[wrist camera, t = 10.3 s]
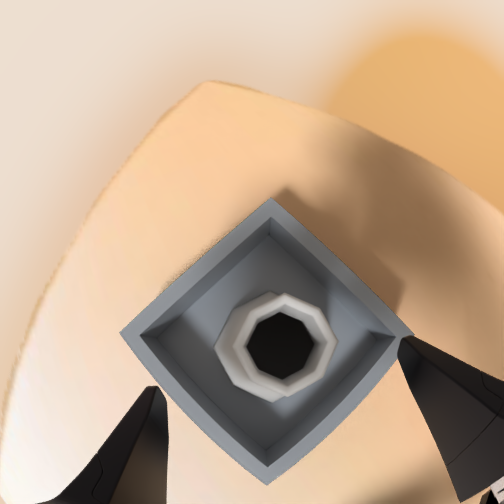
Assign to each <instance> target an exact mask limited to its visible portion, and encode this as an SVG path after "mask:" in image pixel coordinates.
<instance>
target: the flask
mask: <svg viewBox="0 0 504 504" xmlns="http://www.w3.org/2000/svg"><path fill="white" fill-rule="evenodd" d="M338 342H339V341H338V339H337V337H336V336H335V334H334V332H333V330H332V328H331V327H330V325H329V323H328V321H327V320H326V318H325V316H324V314H323V313H322V311H321V309H320V308H318V307H316V306H314V305H312V304H309V303H307V302H305V301H302V300H300V299H298V298H296V297H293V296H291V295H289V294H287V293H283V294H281V295H279V294H277V293H275V292H273V291H270V290H269V291H267V292H265V293H263V294H261V295H259V296H257V297H255V298H253V299H251V300H249V301H247V302H246V303H244V304H242V305H240V306H238V307H236V308H234V309H232V310H231V312H230V314H229V316H228V318H227V320H226V322H225V324H224V326H223V328H222V330H221V332H220V334H219V336H218V338H217V340H216V342H215V344H214V346H213V349H214V351H215V353H216V355H217V357H218V359H219V361H220V363H221V365H222V367H223V369H224V370H225V372H226V374H227V376H228V378H229V380H230V382H231V383H232V385H233V386H235V387H237V388H240V389H242V390H244V391H246V392H248V393H251V394H253V395H255V396H257V397H260V398H262V399H264V400H267V401H269V402H272V403H273V402H275V401H277V400H279V399H281V398H283V397H285V396H286V397H289V396H291V395H293V394H295V393H296V392H298V391H300V390H302V389H304V388H305V387H307V386H309V385H311V384H312V383H314V382H316V381H318V380H319V379H321V378H323V376H324V374H325V372H326V370H327V367H328V365H329V363H330V361H331V358H332V356H333V354H334V351H335V349H336V347H337V344H338Z"/></svg>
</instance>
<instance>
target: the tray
mask: <svg viewBox="0 0 504 504" xmlns="http://www.w3.org/2000/svg"><path fill="white" fill-rule="evenodd" d="M269 290H270V291H273V292H275V293H277V294H279V295H281V294H283V293H287V294H289V295H291V296H293V297H296V298H298V299H300V300H302V301H305V302H307V303H309V304H312V305H314V306H316V307H318V308H320V309H321V311H322V313H323V314H324V316H325V318H326V320H327V321H328V323H329V325H330V327H331V328H332V330H333V332H334V334H335V336H336V337H337V339H338V341H339V342H338V344H337V347H336V349H335V351H334V354H333V356H332V358H331V361H330V363H329V365H328V367H327V370H326V372H325V374H324V376H323V378H321V379H319V380H318V381H316V382H314V383H312V384H311V385H309V386H307V387H305V388H304V389H302V390H300V391H298V392H296V393H295V394H293V395H291V396H289V397H286V396H285V397H283V398H281V399H279V400H277V401H275V402H273V403H272V402H269V401H267V400H264V399H262V398H260V397H257V396H255V395H253V394H251V393H248V392H246V391H244V390H242V389H240V388H237V387H235V386H233V385H232V383H231V382H230V380H229V378H228V376H227V374H226V372H225V370H224V369H223V367H222V365H221V363H220V361H219V359H218V357H217V355H216V353H215V351H214V349H213V346H214V344H215V342H216V340H217V338H218V336H219V334H220V332H221V330H222V328H223V326H224V324H225V322H226V320H227V318H228V316H229V314H230V312H231V310H232V309H234V308H236V307H238V306H240V305H242V304H244V303H246V302H247V301H249V300H251V299H253V298H255V297H257V296H259V295H261V294H263V293H265V292H267V291H269ZM119 333H120V335H121V336H122V337H123V339H124V340H125V342H126V343H127V344H128V346H129V347H130V348H131V350H132V351H133V352H134V354H135V355H136V356H137V358H138V359H139V360H140V361H141V363H142V364H143V365H144V367H145V368H146V369H147V370H148V372H149V373H150V374H151V375H152V376H153V378H154V379H155V380H156V381H157V382H158V384H159V385H160V386H161V387H162V388H163V389H164V391H165V392H166V393H167V394H168V395H169V396H170V397H171V398H172V400H173V401H174V402H175V403H176V404H177V405H178V406H179V407H180V408H181V409H182V410H183V411H184V413H185V414H186V415H187V416H188V417H189V418H190V419H191V420H192V421H193V422H194V423H195V424H196V425H197V426H198V427H199V428H200V429H201V430H202V431H203V432H204V433H205V434H206V435H207V436H208V437H209V438H211V439H212V440H213V441H214V442H215V443H216V444H217V445H218V446H219V447H220V448H221V449H223V450H224V451H225V452H226V453H227V454H228V455H229V456H230V457H232V458H233V459H234V460H235V461H236V462H238V463H239V464H240V465H241V466H242V467H244V468H245V469H246V470H247V471H248V472H250V473H251V474H252V475H254V476H255V477H256V478H257V479H259V480H260V481H261V482H263V483H264V484H265V485H268V484H269V483H271V482H272V481H274V480H275V479H276V478H278V477H279V476H280V475H282V474H283V473H284V472H286V471H287V470H288V469H290V468H291V467H292V466H293V465H295V464H296V463H297V462H298V461H299V460H301V459H302V458H303V457H304V456H305V455H307V454H308V453H309V452H310V451H311V450H312V449H314V448H315V447H316V446H317V445H318V444H319V443H320V442H321V441H323V440H324V439H325V438H326V437H327V436H328V435H329V434H330V433H331V432H332V431H333V430H334V429H335V428H336V427H337V426H338V425H339V424H340V423H341V422H342V421H343V420H344V419H345V418H346V417H347V416H348V415H349V414H350V413H351V412H352V411H353V410H354V409H355V408H356V407H357V406H358V405H359V404H360V403H361V402H362V400H363V399H364V398H365V397H366V396H367V395H368V394H369V393H370V391H371V390H372V389H373V388H374V387H375V386H376V384H377V383H378V382H379V381H380V380H381V379H382V377H383V376H384V375H385V374H386V372H387V371H388V370H389V369H390V367H391V366H392V365H393V364H394V362H395V361H396V360H397V358H398V357H397V351H398V348H399V344H400V340H401V339H402V338H403V337H405V336H408V335H412V336H414V335H415V334H414V333H413V332H412V331H411V330H410V329H409V328H408V327H407V326H406V325H405V324H404V323H403V322H402V321H401V320H400V319H399V318H398V316H397V315H396V314H395V313H394V312H393V311H392V310H391V309H390V308H389V307H388V306H387V305H386V304H385V303H384V302H383V301H382V300H381V299H380V298H379V297H378V296H377V295H376V294H375V293H374V292H373V291H372V290H371V289H370V288H369V287H368V286H367V285H366V284H365V283H364V282H363V281H362V280H361V279H360V278H359V277H358V276H357V275H356V274H355V273H354V272H352V271H351V270H350V269H349V268H348V267H347V266H346V265H345V264H344V263H343V262H342V261H341V260H340V259H339V258H338V257H337V256H336V255H335V254H334V253H332V252H331V251H330V250H329V249H328V248H327V247H326V246H325V245H324V244H323V243H322V242H321V241H320V240H318V239H317V238H316V237H315V236H314V235H313V234H312V233H311V232H310V231H309V230H307V229H306V228H305V227H304V226H303V225H302V224H301V223H300V222H299V221H297V220H296V219H295V218H294V217H293V216H292V215H291V214H290V213H288V212H287V211H286V210H285V209H284V208H283V207H282V206H280V205H279V204H278V203H277V202H276V201H275V200H273V199H272V198H270V199H268V200H267V201H266V202H265V203H264V204H262V205H261V206H260V207H259V208H258V209H257V210H255V211H254V212H253V213H252V214H251V215H250V216H248V217H247V218H246V219H245V220H244V221H243V222H241V223H240V224H239V225H238V226H237V227H236V228H234V229H233V230H232V231H231V232H230V233H229V234H227V235H226V236H225V237H224V238H223V239H222V240H221V241H219V242H218V243H217V244H216V245H215V246H214V247H213V248H211V249H210V250H209V251H208V252H207V253H206V254H205V255H204V256H202V257H201V258H200V259H199V260H198V261H197V262H196V263H195V264H193V265H192V266H191V267H190V268H189V269H188V270H187V271H186V272H184V273H183V274H182V275H181V276H180V277H179V278H178V279H177V280H176V281H175V282H173V283H172V284H171V285H170V286H169V287H168V288H167V289H166V290H165V291H164V292H162V293H161V294H160V295H159V296H158V297H157V298H156V299H155V300H154V301H153V302H152V303H150V304H149V305H148V306H147V307H146V308H145V309H144V310H143V311H142V312H141V313H140V314H139V315H138V316H136V317H135V318H134V319H133V320H132V321H131V322H130V323H129V324H128V325H127V326H126V327H125V328H124V329H123V330H122V331H121V332H119Z"/></svg>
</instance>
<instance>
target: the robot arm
mask: <svg viewBox="0 0 504 504" xmlns="http://www.w3.org/2000/svg"><path fill="white" fill-rule="evenodd" d="M397 357H398V360H399V363H400V365H401V368H402V370H403V373H404V375H405V378H406V381H407V383H408V386H409V388H410V390H411V392H412V394H413V396H414V398H415V400H416V402H417V404H418V406H419V408H420V410H421V412H422V414H423V417H424V419H425V421H426V423H427V425H428V427H429V429H430V431H431V433H432V436H433V438H434V440H435V442H436V444H437V447H438V449H439V451H440V454H441V456H442V458H443V461H444V463H445V465H446V468H447V471H448V473H449V475H450V478H451V481H452V483H453V486H454V488H455V491H456V494H457V496H458V499H459V501H460V503H461V502H463V501H465V500H467V499H469V498H470V497H472V496H474V495H476V494H477V493H479V492H481V491H482V490H484V489H485V488H487V487H489V486H490V488H491V489H490V490H489V491H487V492H486V493H485V494H484V495H482V498H481V501H480V504H504V381H502V380H499V379H497V378H495V377H493V376H491V375H489V374H487V373H485V372H483V371H480V370H479V369H477V368H475V367H473V366H471V365H469V364H467V363H465V362H463V361H461V360H459V359H457V358H455V357H453V356H451V355H449V354H448V353H446V352H444V351H442V350H440V349H438V348H436V347H434V346H432V345H430V344H428V343H426V342H424V341H422V340H420V339H418V338H416V337H415V336H412V335H408V336H405V337H403V338H402V339H401V340H400V344H399V348H398V351H397ZM168 445H169V433H168V414H167V401H166V398H165V397H164V395H163V393H162V392H161V390H160V388H159V387H158V386H148V387H146V388H145V389H144V391H143V392H142V393H141V395H140V396H139V397H138V399H137V400H136V401H135V403H134V404H133V405H132V407H131V408H130V409H129V411H128V412H127V413H126V414H125V416H124V417H123V418H122V420H121V421H120V422H119V424H118V425H117V426H116V428H115V429H114V430H113V432H112V433H111V434H110V436H109V437H108V438H107V440H106V441H105V442H104V444H103V445H102V446H101V448H100V449H99V450H98V452H97V453H98V454H97V453H96V454H95V455H94V457H93V458H92V459H91V461H90V462H89V463H88V464H87V466H86V467H85V468H84V469H83V470H82V471H81V473H80V474H79V475H78V476H77V477H76V478H75V479H74V480H73V481H72V482H71V483H70V484H69V485H68V486H67V487H66V488H65V489H64V490H63V491H62V492H61V493H60V494H59V495H58V496H57V497H55V498H54V499H52V500H49V501H46V502H42V503H37V504H166V496H167V464H168Z"/></svg>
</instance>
